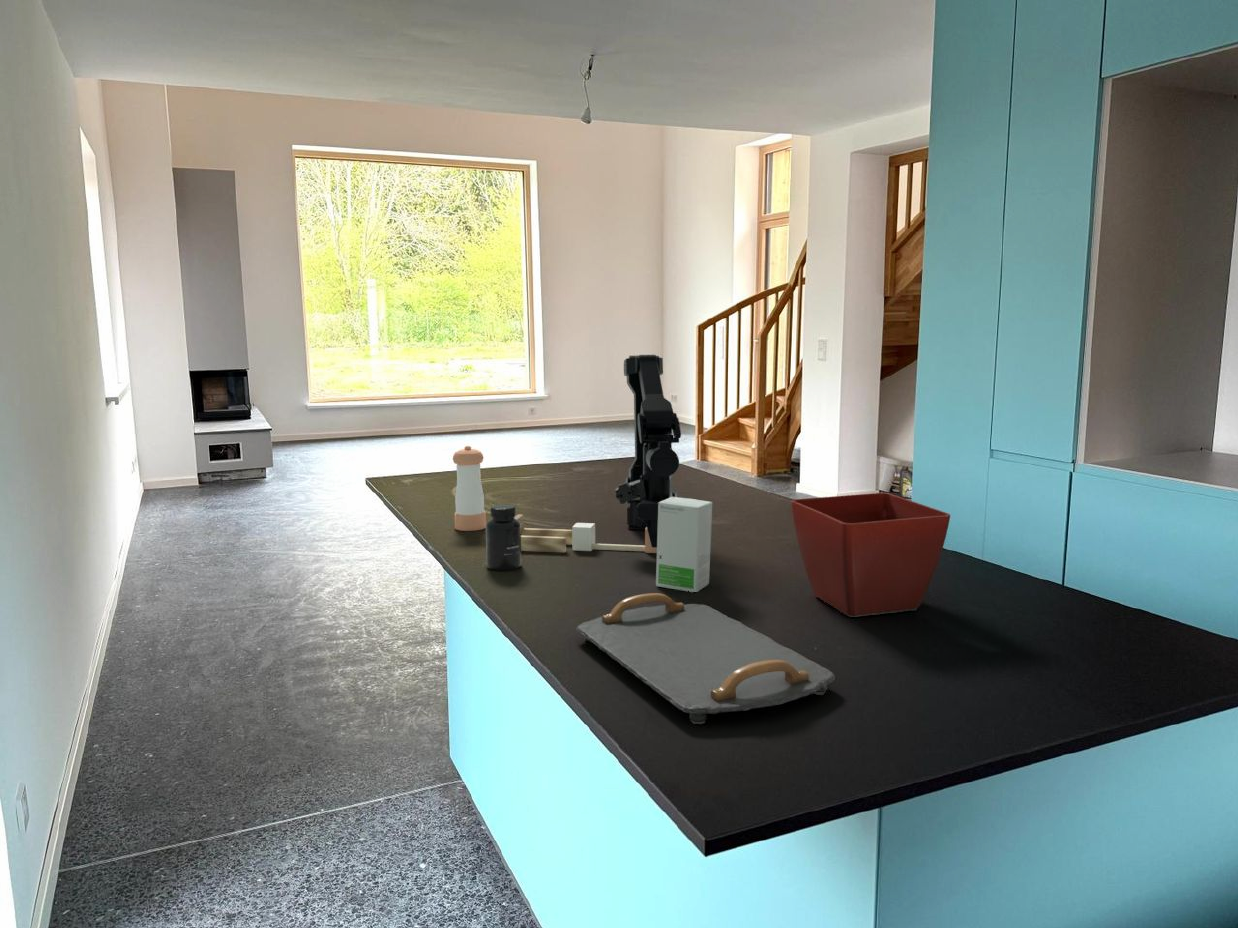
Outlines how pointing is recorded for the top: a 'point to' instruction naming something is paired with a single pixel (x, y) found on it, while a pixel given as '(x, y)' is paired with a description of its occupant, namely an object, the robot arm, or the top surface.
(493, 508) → the supplement bottle
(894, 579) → the plant pot
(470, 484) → the pepper shaker
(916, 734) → the top surface
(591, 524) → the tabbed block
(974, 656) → the top surface
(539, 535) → the oak lane
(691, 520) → the skincare box
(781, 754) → the top surface
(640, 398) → the robot arm
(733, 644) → the serving board
